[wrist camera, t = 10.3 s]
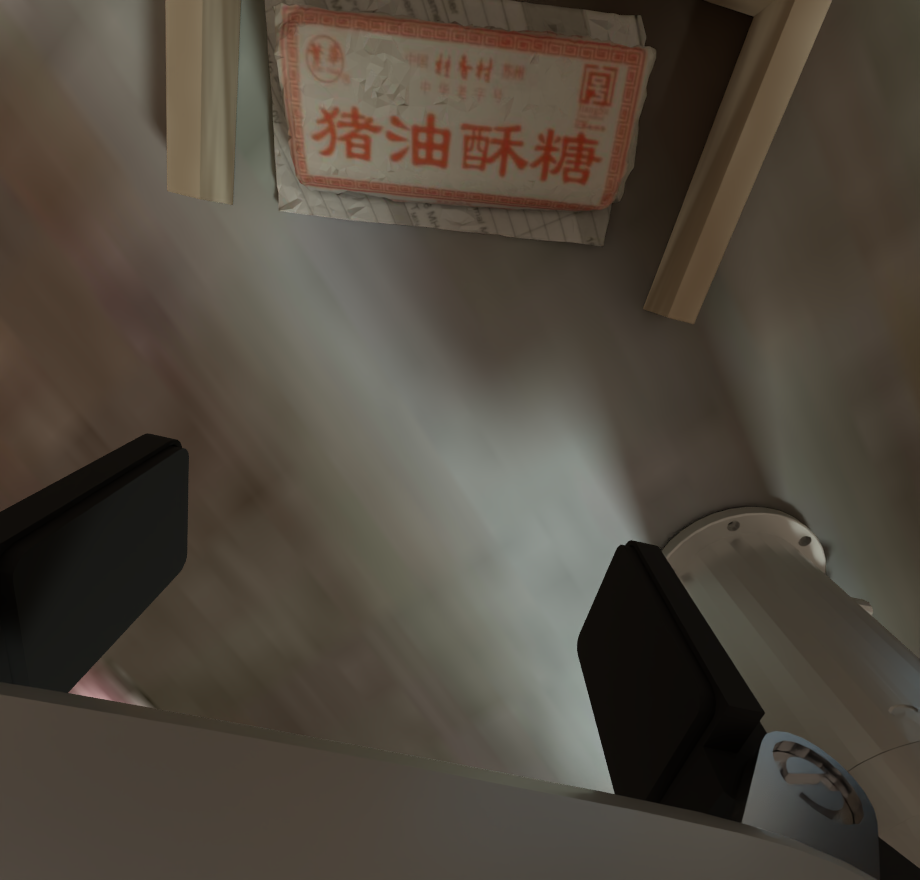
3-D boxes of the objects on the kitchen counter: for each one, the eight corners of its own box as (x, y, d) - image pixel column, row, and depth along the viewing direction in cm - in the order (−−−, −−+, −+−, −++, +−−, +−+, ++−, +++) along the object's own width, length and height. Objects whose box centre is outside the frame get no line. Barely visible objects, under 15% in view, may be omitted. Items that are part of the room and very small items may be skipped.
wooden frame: (797, -14, 22) (857, -59, 18) (666, 315, 28) (693, 324, 24) (212, -210, 19) (162, -301, 16) (204, 197, 25) (167, 190, 22)
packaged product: (686, -24, 18) (627, 247, 22) (642, 28, 23) (599, 246, 27) (225, -84, 17) (247, 207, 21) (272, -18, 22) (284, 213, 26)
